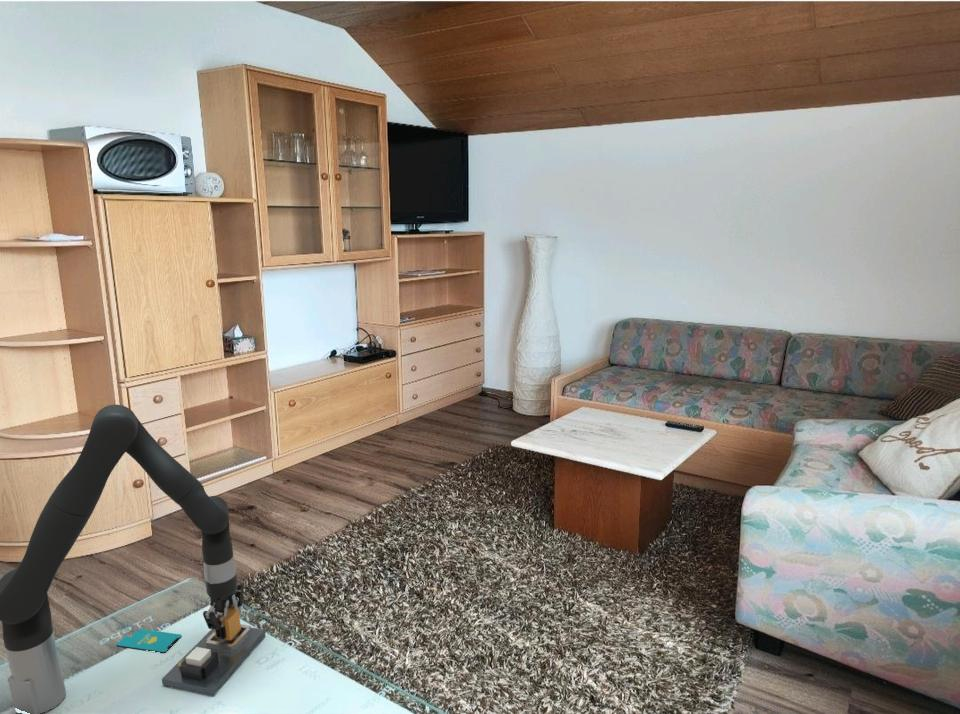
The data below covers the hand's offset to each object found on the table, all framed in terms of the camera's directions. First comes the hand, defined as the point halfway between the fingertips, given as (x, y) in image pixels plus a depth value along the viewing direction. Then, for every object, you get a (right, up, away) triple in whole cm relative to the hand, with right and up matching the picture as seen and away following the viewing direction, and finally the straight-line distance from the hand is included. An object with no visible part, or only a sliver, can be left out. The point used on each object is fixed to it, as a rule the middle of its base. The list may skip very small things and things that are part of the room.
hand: (228, 631), depth 172 cm
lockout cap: (0, -1, 0) cm, 1 cm away
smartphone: (-22, -5, +4) cm, 23 cm away
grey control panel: (-1, -6, -4) cm, 7 cm away
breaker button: (-3, -5, -10) cm, 12 cm away
